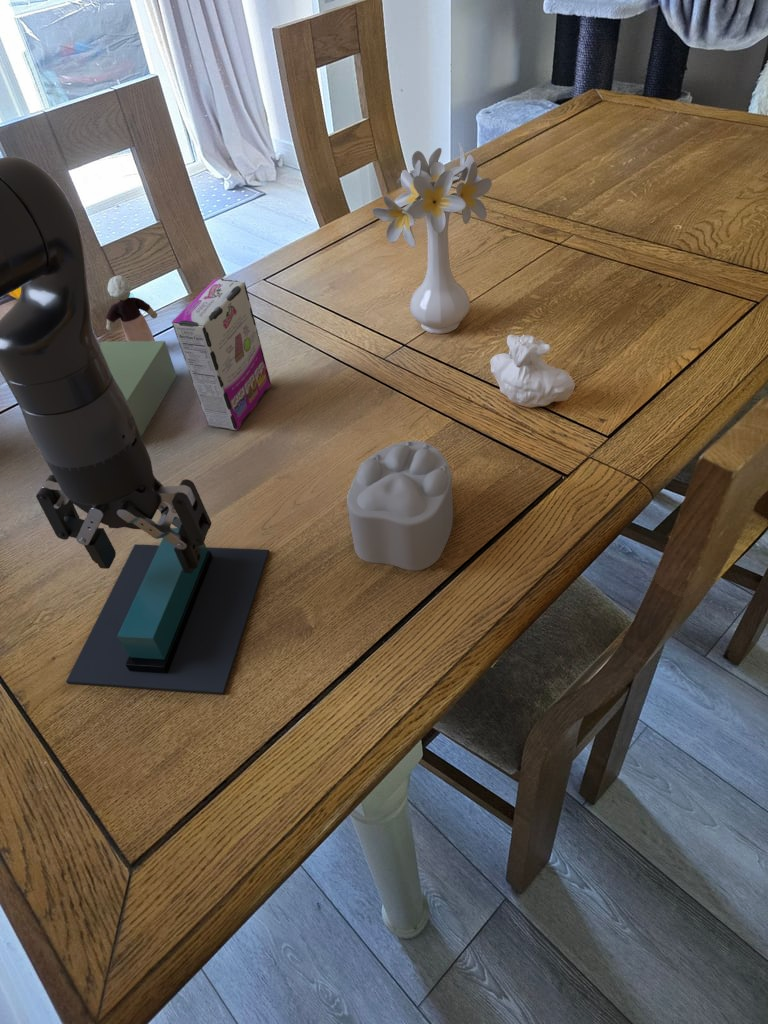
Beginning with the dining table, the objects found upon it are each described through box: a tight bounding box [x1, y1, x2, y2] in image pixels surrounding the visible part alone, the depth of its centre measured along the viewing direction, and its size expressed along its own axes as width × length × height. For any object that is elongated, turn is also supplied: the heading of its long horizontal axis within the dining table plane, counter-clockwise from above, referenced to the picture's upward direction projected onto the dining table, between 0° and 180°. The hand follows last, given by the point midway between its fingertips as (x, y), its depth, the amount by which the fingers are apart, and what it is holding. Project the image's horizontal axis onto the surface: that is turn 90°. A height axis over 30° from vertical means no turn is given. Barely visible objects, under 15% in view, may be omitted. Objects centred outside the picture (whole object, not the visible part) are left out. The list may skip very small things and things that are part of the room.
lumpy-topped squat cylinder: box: [346, 440, 454, 572], centre depth 76 cm, size 10×13×9 cm
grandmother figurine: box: [105, 275, 158, 341], centre depth 106 cm, size 8×4×13 cm, turn 130°
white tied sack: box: [489, 333, 576, 408], centre depth 90 cm, size 12×8×11 cm
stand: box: [99, 340, 177, 438], centre depth 98 cm, size 10×17×6 cm, turn 173°
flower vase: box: [371, 141, 493, 335], centre depth 100 cm, size 13×18×25 cm
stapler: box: [117, 527, 213, 674], centre depth 71 cm, size 15×4×5 cm, turn 173°
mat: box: [65, 544, 270, 696], centre depth 73 cm, size 16×18×1 cm
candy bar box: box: [171, 278, 272, 432], centre depth 92 cm, size 11×5×16 cm, turn 161°
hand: (150, 564), depth 67 cm, fingers open, 8 cm apart
